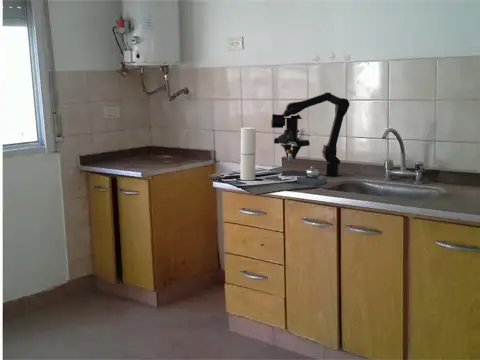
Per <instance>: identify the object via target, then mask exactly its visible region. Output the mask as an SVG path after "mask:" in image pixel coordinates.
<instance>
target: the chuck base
mask: <svg viewBox="0 0 480 360" xmlns="http://www.w3.org/2000/svg"><path fill="white" fill-rule="evenodd" d="M327 179H328V176H325V175H319V177H306V176H296V183H297V184H300V185H307V186H313V187H317V186H321V185H324V184H328V183H327Z"/></svg>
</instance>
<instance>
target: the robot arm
mask: <svg viewBox="0 0 480 360" xmlns="http://www.w3.org/2000/svg"><path fill="white" fill-rule="evenodd" d="M324 102H329V103H331V104H333V105H334V114H335V115H334V118H333V122H332V127H331V131H330V133H329V134H330V135H329V139H328V142H327V144H323V147H322V148H323V149H322V151H321V153H322V157H323V158H324V159H325V160H326V163H327V164H326V173H324V174H323V176H324V177H335V178H336V177H339V176H342V174H341V173H340V172H339V171H340V170H339V168H340V163H341V159H339V158H338V157H337V152H338V151H337V143H338V140H339V136H340V133H341V128H342V125H343V121H344V117H345V116H346V114H347V112H348V110H349V107H350V101H349V100H348V99H347V98H344V97H339V96H336V95H335V94H332V93H331V92H328V91H327V92H326V91H325V92H324V93H321V94H319V95H315V96H314V97H311V98H307V99H304V100H300V101H299V100H298V101H293V102H289V103H288V104H286V107H285V110H284V111H283V113H282V114H276V113H275V114H274V113H273V114H272V116H271V120H270V125H271V128H272V129H273V128H274V129H283V128H284V127H286V128H285V129H284V130H283V133H281V135H279V136H278V137H275V138H274V139H273V144H276V145H277V144H278V145H279V144H280V147H283V150H284V151H285V155H286V157H287V159H288V153H286V152H287V150H291V149H293V159H294V160H295V159H296V157H297V155H298V153H299V151H300V150H301V148H302V147H309V146H310V140H309V139H300V138H299V137H298V133H300V129H298V128H299V127H298V125H299V120H302V116H301V115H300V114H299V113H300V112H302V111H304V110H305V109H306V108H307V109H308V108H309V107H313V106H316V105H319V104H321V103H324Z"/></svg>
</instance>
